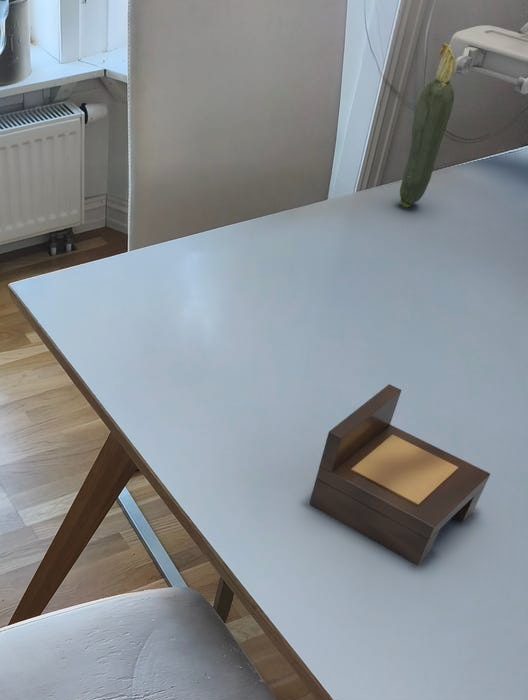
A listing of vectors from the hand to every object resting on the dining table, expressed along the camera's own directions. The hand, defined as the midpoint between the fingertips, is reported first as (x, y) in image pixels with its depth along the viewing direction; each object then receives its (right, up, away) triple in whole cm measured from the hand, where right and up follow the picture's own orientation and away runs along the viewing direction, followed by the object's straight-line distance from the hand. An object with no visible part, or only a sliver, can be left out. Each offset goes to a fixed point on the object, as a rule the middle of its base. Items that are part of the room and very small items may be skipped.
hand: (488, 76), depth 118 cm
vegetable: (-9, -15, +6) cm, 19 cm away
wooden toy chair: (-26, -63, -32) cm, 75 cm away
